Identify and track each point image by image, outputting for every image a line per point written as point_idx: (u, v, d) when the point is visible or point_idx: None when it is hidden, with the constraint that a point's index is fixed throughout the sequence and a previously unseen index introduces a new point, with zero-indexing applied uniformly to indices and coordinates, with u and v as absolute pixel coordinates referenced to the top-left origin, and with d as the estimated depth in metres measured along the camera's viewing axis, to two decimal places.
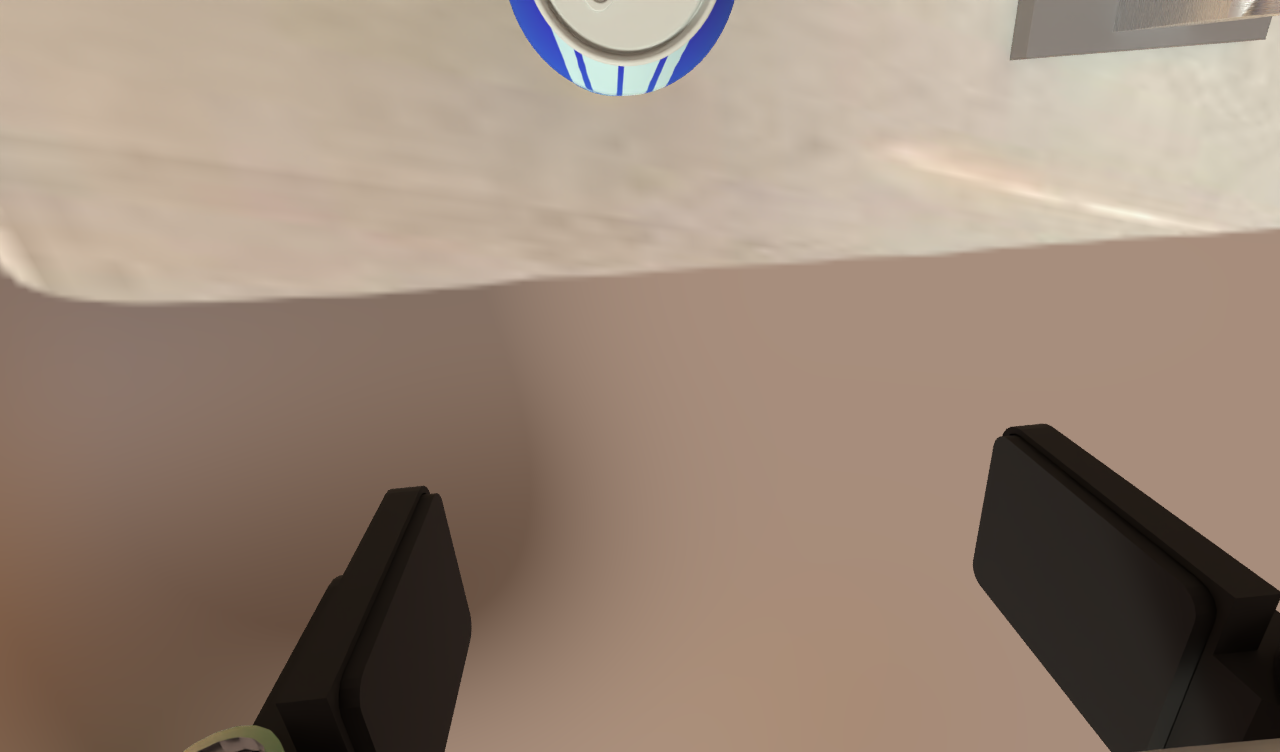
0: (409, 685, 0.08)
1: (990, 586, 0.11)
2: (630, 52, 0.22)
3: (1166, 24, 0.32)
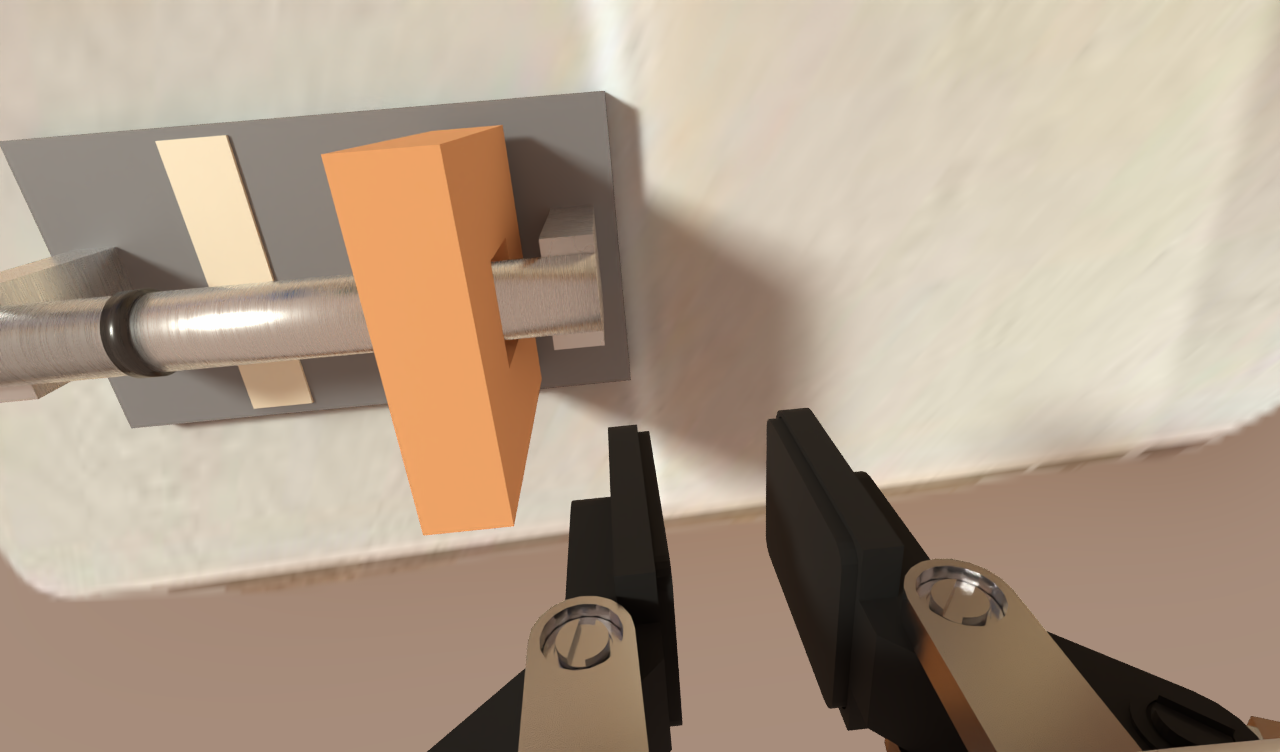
0: None
1: (773, 556, 0.12)
2: None
3: (6, 271, 0.26)
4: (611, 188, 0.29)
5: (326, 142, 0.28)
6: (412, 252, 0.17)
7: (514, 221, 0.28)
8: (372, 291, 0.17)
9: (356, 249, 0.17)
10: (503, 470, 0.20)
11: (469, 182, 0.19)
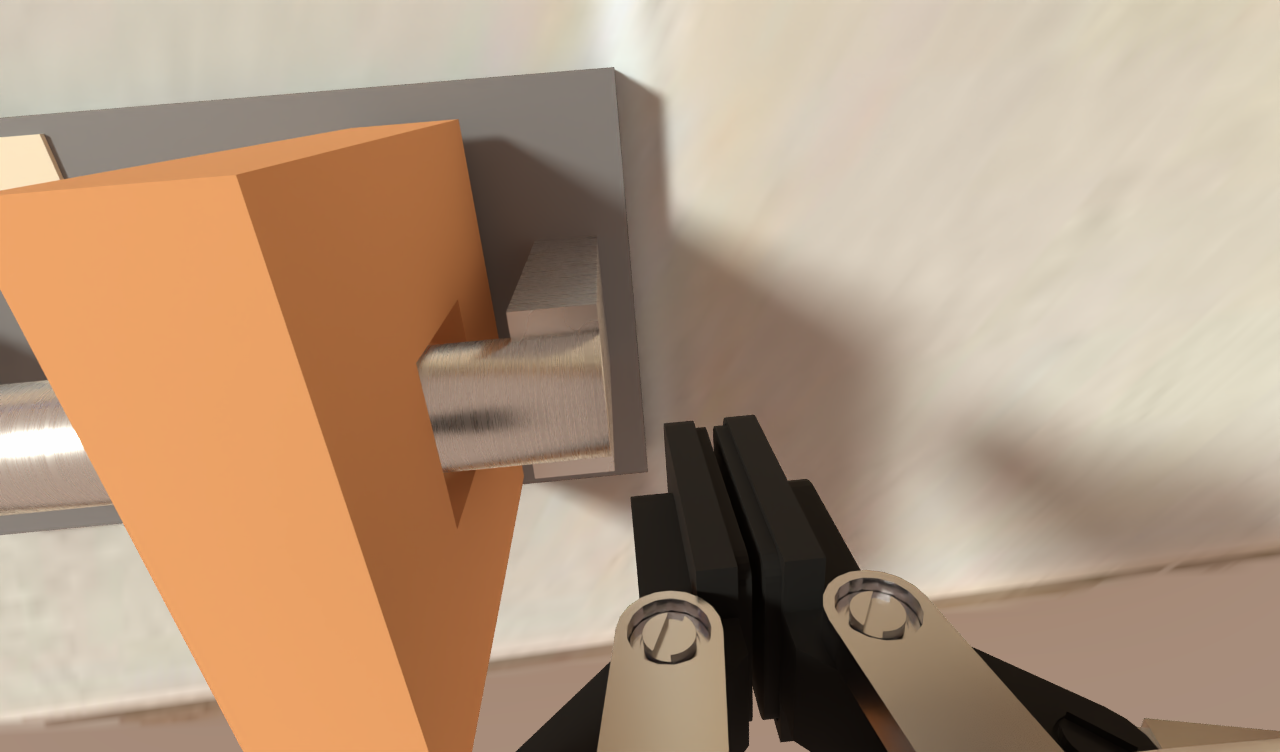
0: None
1: None
2: None
3: None
4: (623, 212, 0.20)
5: (195, 145, 0.18)
6: (206, 403, 0.08)
7: (478, 264, 0.19)
8: (132, 478, 0.08)
9: (81, 400, 0.08)
10: None
11: (358, 235, 0.10)
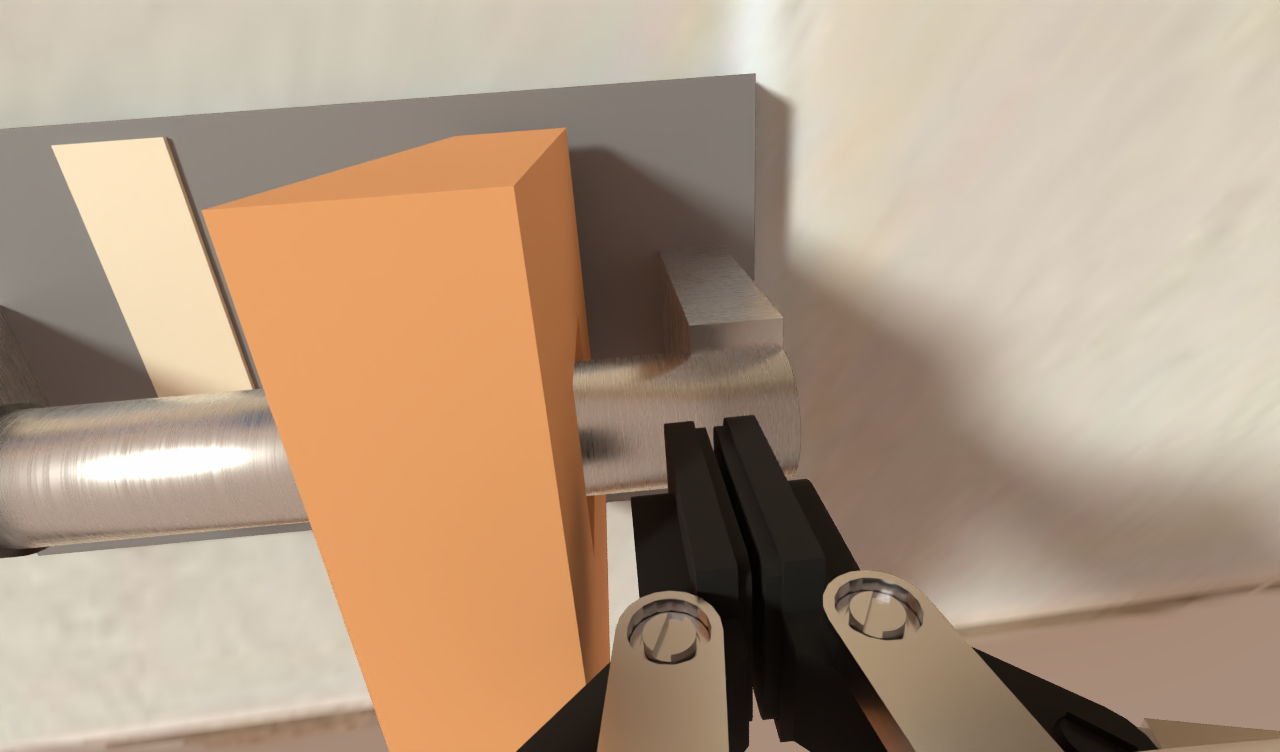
0: None
1: None
2: None
3: None
4: (751, 222, 0.19)
5: (321, 149, 0.18)
6: (436, 434, 0.07)
7: (580, 277, 0.18)
8: (342, 516, 0.08)
9: (302, 431, 0.07)
10: None
11: (549, 250, 0.09)
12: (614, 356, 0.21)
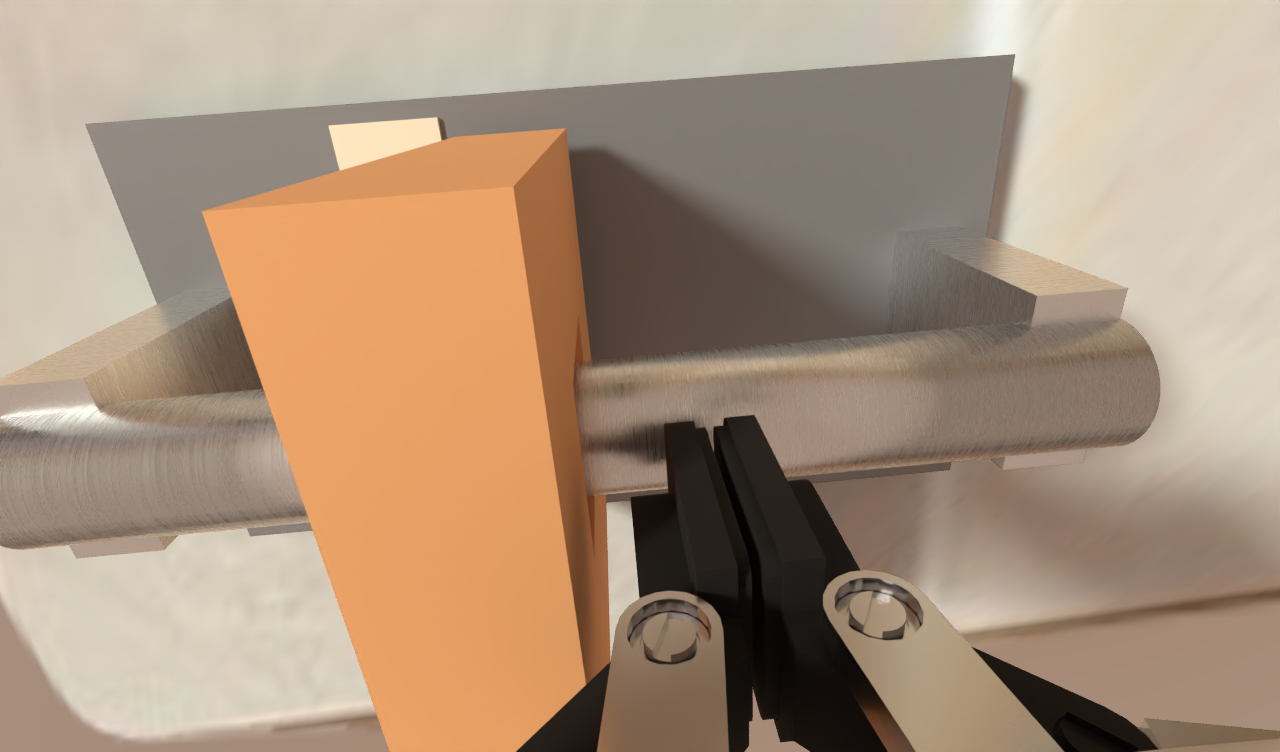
0: None
1: None
2: None
3: None
4: (989, 202, 0.20)
5: (585, 130, 0.18)
6: (437, 435, 0.07)
7: (580, 278, 0.18)
8: (342, 516, 0.08)
9: (302, 431, 0.07)
10: None
11: (549, 250, 0.09)
12: (836, 337, 0.21)
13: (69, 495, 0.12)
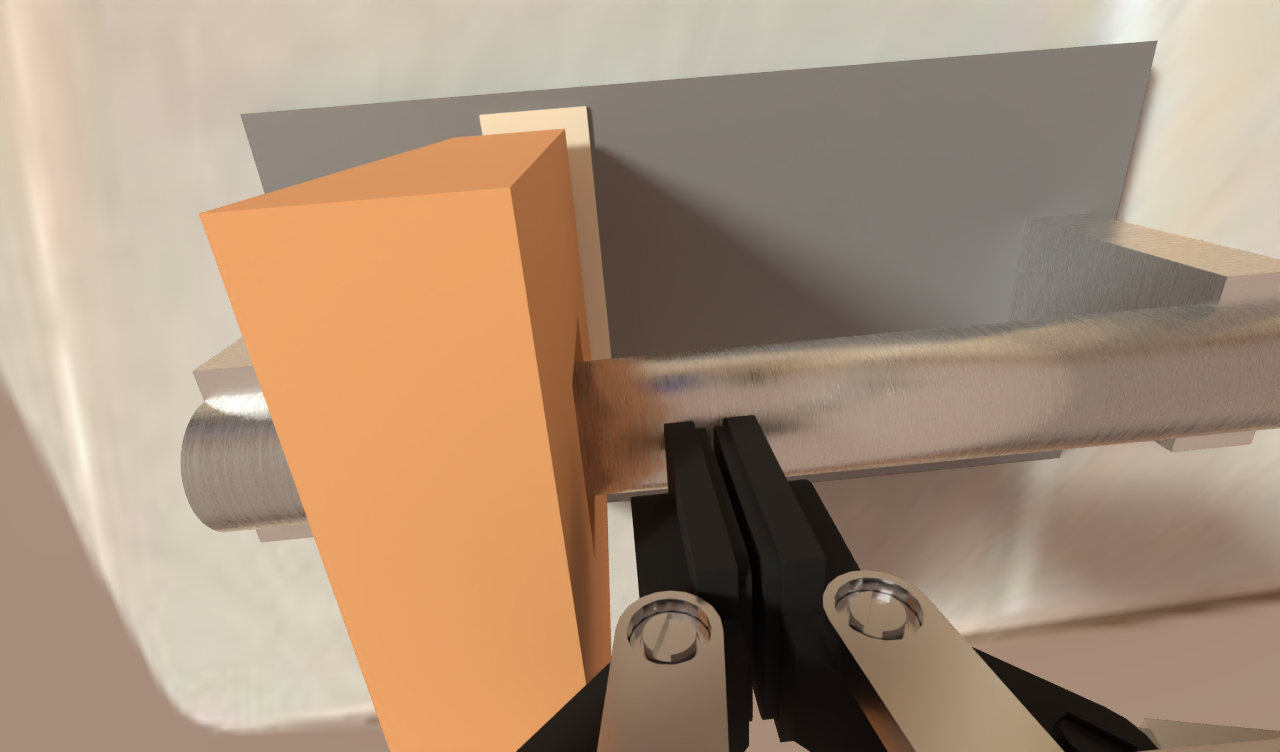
0: None
1: None
2: None
3: None
4: (1120, 189, 0.20)
5: (729, 118, 0.18)
6: (435, 436, 0.07)
7: (580, 278, 0.18)
8: (341, 517, 0.08)
9: (301, 433, 0.07)
10: None
11: (548, 251, 0.09)
12: (958, 325, 0.21)
13: (287, 476, 0.12)
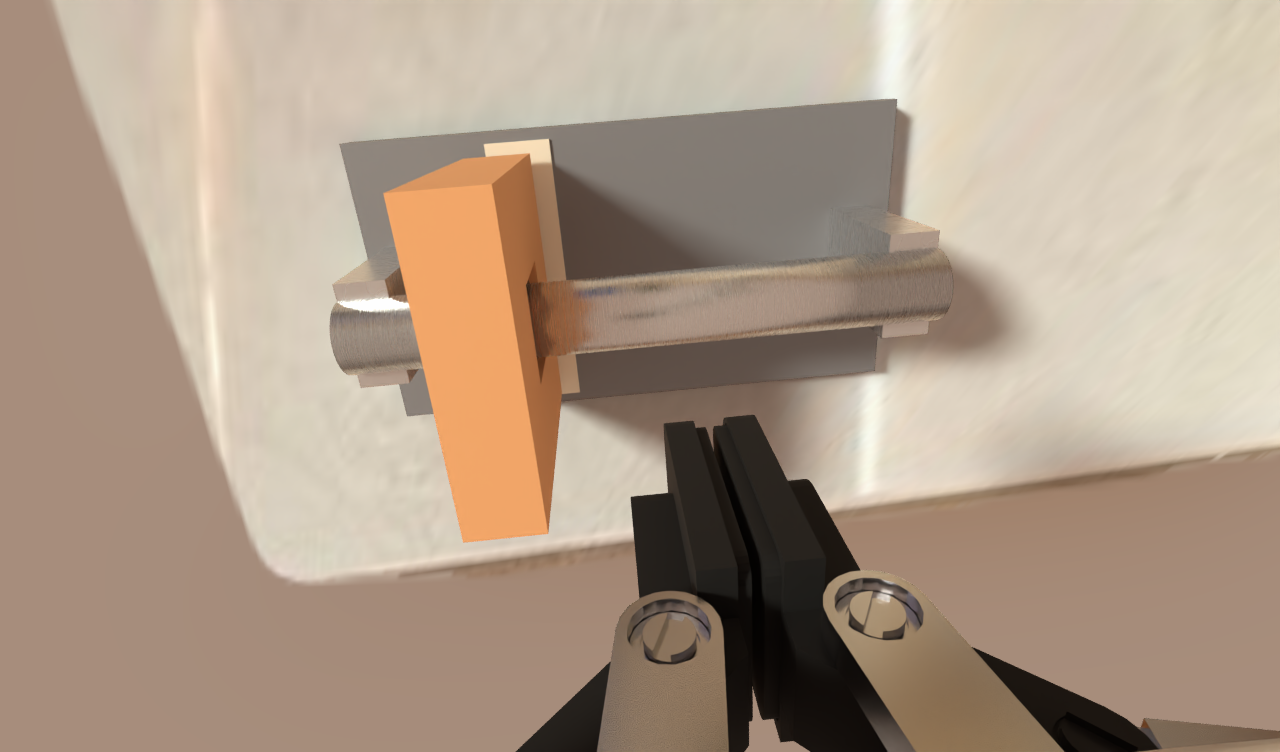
0: None
1: None
2: None
3: (363, 264, 0.27)
4: (887, 189, 0.31)
5: (637, 146, 0.30)
6: (463, 280, 0.19)
7: (540, 243, 0.29)
8: (425, 316, 0.19)
9: (412, 278, 0.18)
10: (539, 481, 0.22)
11: (510, 214, 0.21)
12: None
13: (385, 337, 0.24)
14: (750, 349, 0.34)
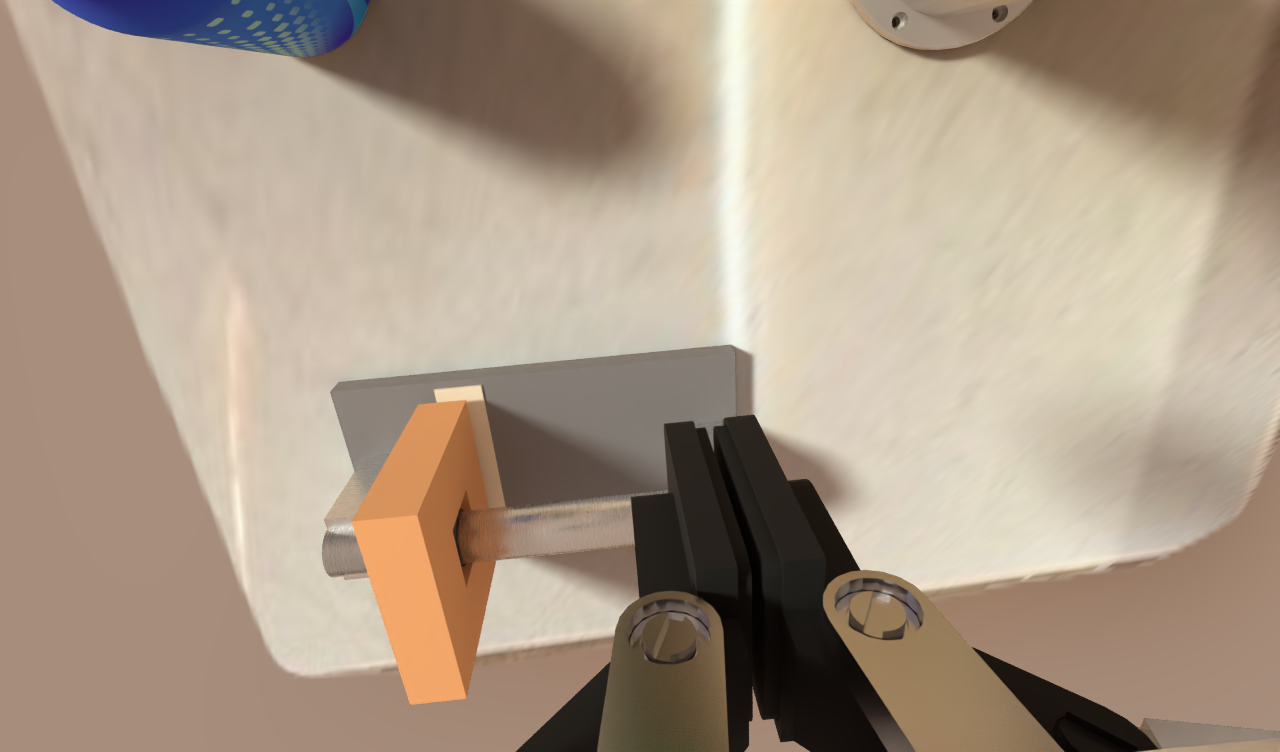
0: None
1: None
2: None
3: (346, 486, 0.39)
4: (734, 410, 0.42)
5: (546, 387, 0.41)
6: (402, 563, 0.30)
7: (475, 460, 0.41)
8: (379, 582, 0.30)
9: (370, 563, 0.30)
10: (459, 668, 0.33)
11: (437, 501, 0.32)
12: None
13: (359, 558, 0.35)
14: None
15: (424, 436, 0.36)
